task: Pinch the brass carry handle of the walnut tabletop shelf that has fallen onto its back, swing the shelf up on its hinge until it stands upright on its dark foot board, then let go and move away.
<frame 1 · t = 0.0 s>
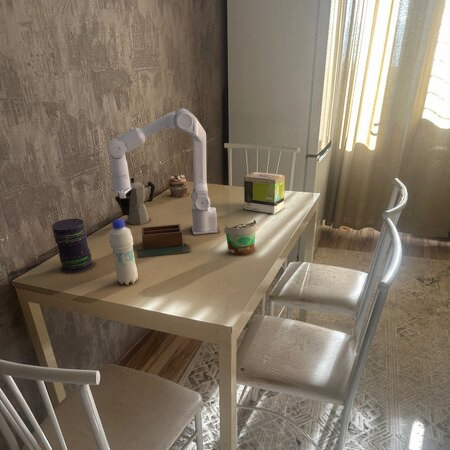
hand: (126, 211, 154), 10 cm above the table, tool pointing down, fingers open, 7 cm apart
shelf: (161, 234, 152), point 3 cm above the table, hinge at 90.1°
food container: (244, 253, 144), on the table
coffeepot: (141, 221, 175), on the table
tea box: (263, 209, 183), on the table
cupcake: (179, 195, 206), on the table
foot board: (163, 248, 149), on the table
storage jar: (78, 266, 138), on the table
bottle: (128, 282, 128), on the table
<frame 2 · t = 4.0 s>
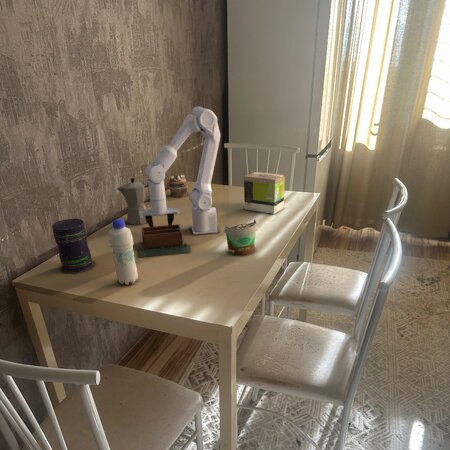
hand: (161, 233, 157), 2 cm above the table, tool pointing down, fingers closed on shelf, 5 cm apart
shelf: (161, 234, 152), point 3 cm above the table, hinge at 90.1°, touching gripper
everything else where it was.
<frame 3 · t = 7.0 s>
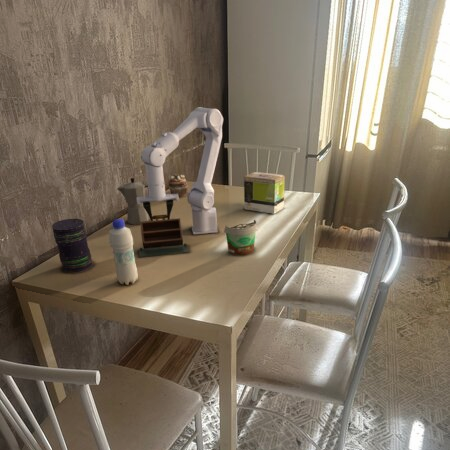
hand: (160, 221, 149), 8 cm above the table, tool pointing down, fingers closed on shelf, 5 cm apart
shelf: (161, 229, 148), point 6 cm above the table, hinge at 45.0°, touching gripper
everything else where it was.
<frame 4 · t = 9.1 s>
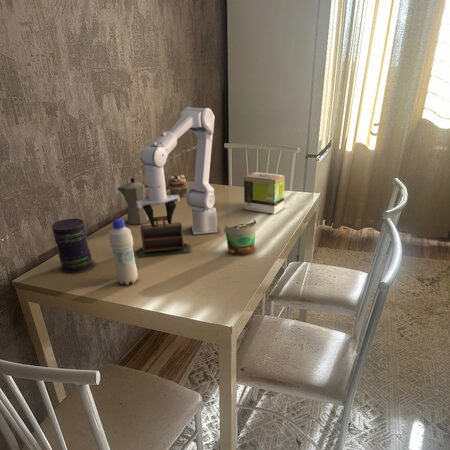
hand: (161, 224, 142), 10 cm above the table, tool pointing down, fingers open, 5 cm apart
shelf: (161, 232, 144), point 7 cm above the table, hinge at 9.3°, touching gripper
everything else where it was.
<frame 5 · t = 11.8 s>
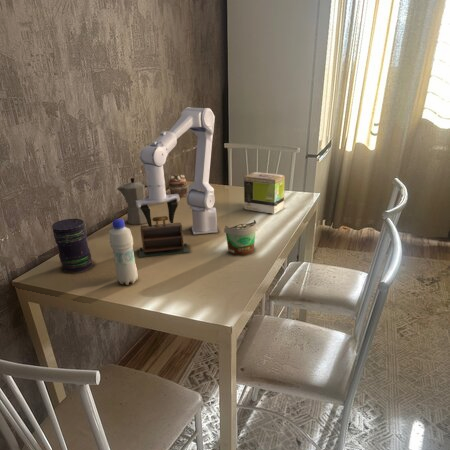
hand: (160, 224, 142), 10 cm above the table, tool pointing down, fingers open, 7 cm apart
shelf: (161, 232, 144), point 7 cm above the table, hinge at 8.8°
everything else where it was.
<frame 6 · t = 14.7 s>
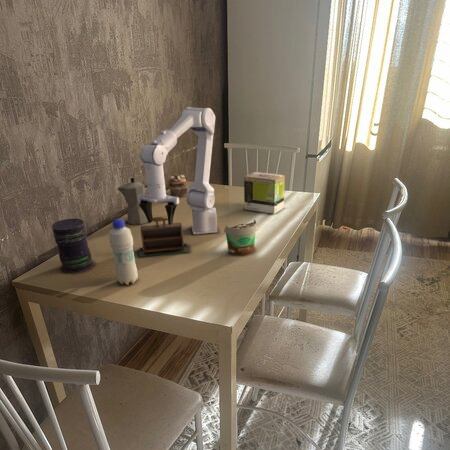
hand: (160, 222, 143), 10 cm above the table, tool pointing down, fingers open, 7 cm apart
shelf: (161, 233, 144), point 7 cm above the table, hinge at 7.6°
everything else where it was.
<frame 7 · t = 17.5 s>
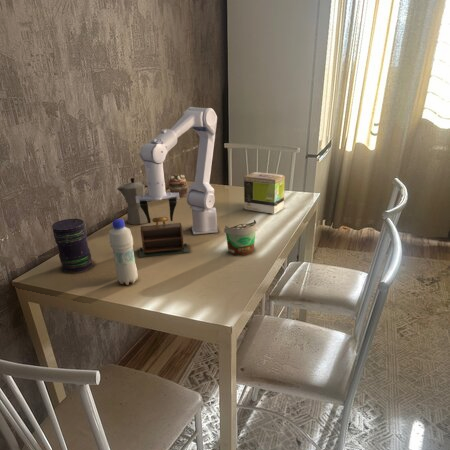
hand: (160, 221, 143), 10 cm above the table, tool pointing down, fingers open, 7 cm apart
shelf: (161, 233, 144), point 6 cm above the table, hinge at 6.0°
everything else where it was.
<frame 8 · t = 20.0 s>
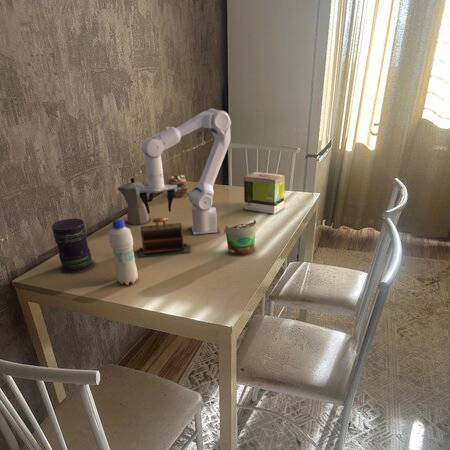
hand: (159, 211, 152), 10 cm above the table, tool pointing down, fingers open, 7 cm apart
shelf: (161, 233, 144), point 6 cm above the table, hinge at 3.9°
everything else where it was.
at the end: shelf at +4° (first picture: +90°); the gripper is holding nothing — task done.
